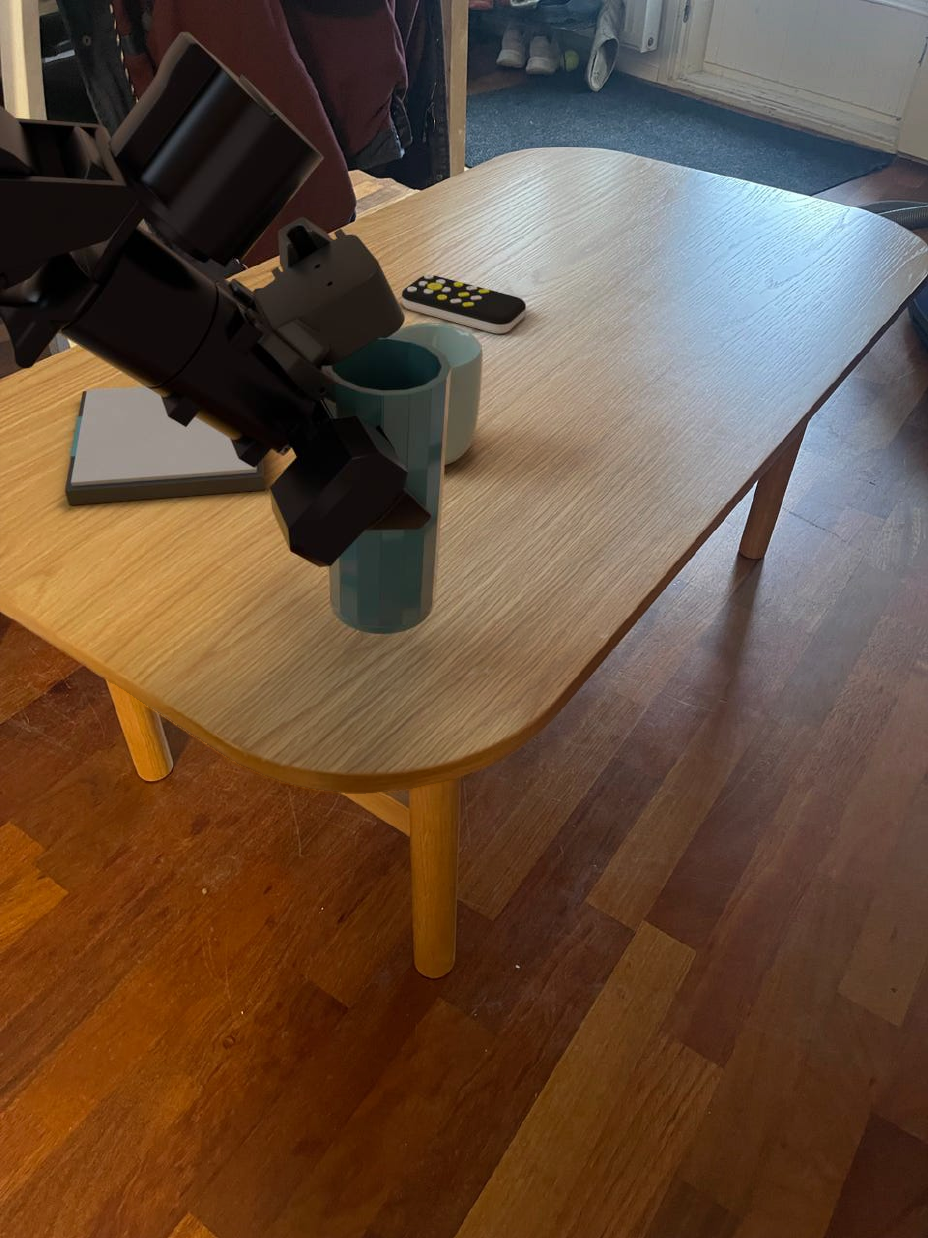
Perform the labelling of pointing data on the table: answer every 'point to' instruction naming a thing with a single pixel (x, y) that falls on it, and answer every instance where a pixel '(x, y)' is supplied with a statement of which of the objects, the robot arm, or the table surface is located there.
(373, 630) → the tumbler
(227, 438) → the scale
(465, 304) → the remote control
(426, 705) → the table surface
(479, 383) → the cup
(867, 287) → the table surface
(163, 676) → the table surface
